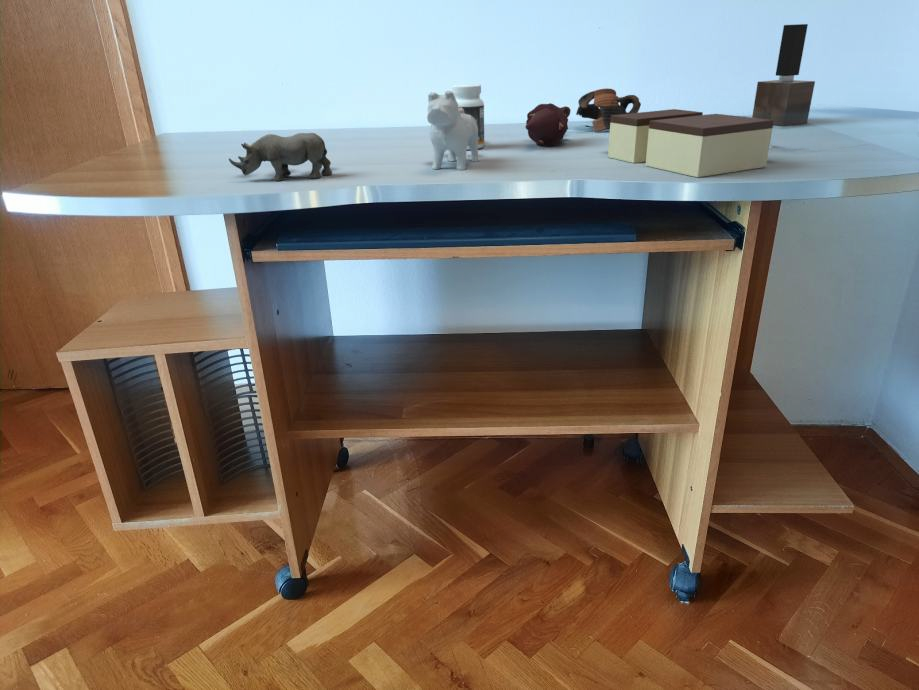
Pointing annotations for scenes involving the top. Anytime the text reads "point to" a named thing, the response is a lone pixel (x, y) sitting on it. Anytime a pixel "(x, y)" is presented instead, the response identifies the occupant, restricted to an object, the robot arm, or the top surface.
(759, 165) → the cake
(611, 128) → the cake slice
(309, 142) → the rhino figurine
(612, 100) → the pottery mug
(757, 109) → the knife block
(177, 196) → the top surface
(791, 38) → the knife
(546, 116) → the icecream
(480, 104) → the pill bottle
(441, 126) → the dog figurine
